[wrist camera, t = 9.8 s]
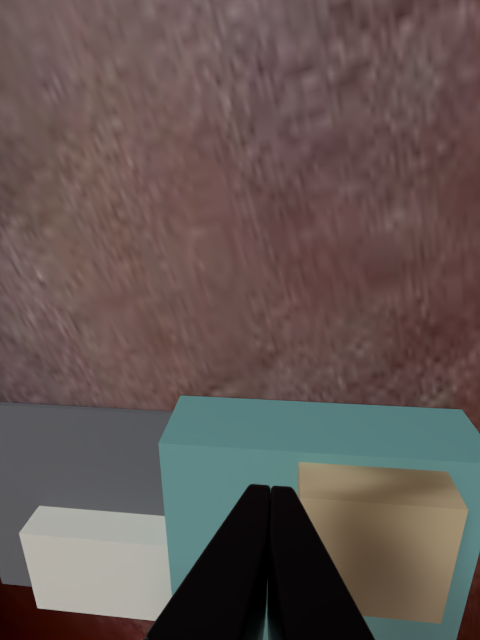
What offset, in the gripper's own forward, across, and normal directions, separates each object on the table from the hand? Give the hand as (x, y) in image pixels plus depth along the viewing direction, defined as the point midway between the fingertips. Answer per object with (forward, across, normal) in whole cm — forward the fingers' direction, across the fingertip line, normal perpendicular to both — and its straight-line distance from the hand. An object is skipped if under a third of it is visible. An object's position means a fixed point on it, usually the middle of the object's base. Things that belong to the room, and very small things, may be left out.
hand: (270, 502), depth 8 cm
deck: (+12, -2, +13) cm, 18 cm away
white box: (+12, +10, +16) cm, 22 cm away
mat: (+12, +12, +13) cm, 21 cm away
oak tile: (+8, -4, +8) cm, 12 cm away
